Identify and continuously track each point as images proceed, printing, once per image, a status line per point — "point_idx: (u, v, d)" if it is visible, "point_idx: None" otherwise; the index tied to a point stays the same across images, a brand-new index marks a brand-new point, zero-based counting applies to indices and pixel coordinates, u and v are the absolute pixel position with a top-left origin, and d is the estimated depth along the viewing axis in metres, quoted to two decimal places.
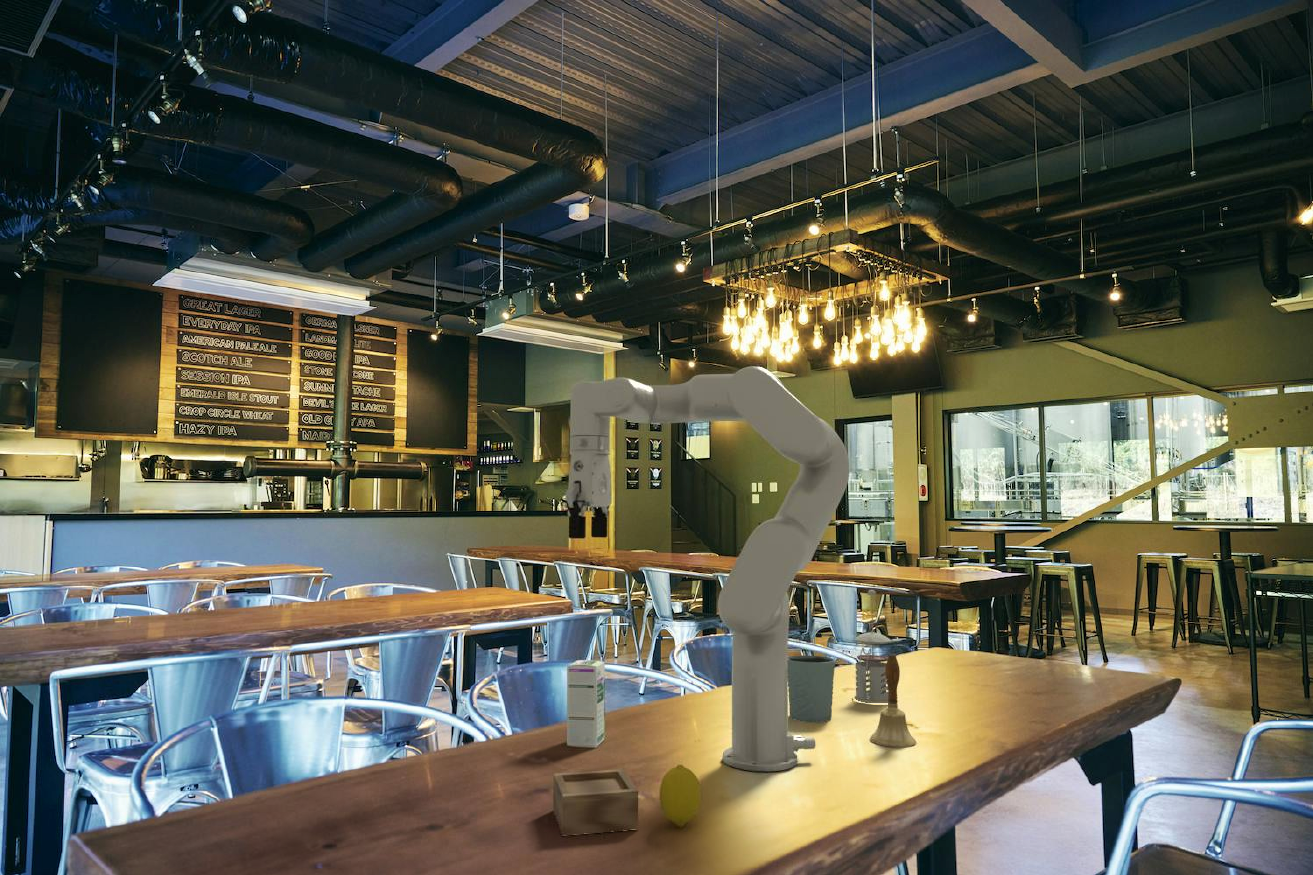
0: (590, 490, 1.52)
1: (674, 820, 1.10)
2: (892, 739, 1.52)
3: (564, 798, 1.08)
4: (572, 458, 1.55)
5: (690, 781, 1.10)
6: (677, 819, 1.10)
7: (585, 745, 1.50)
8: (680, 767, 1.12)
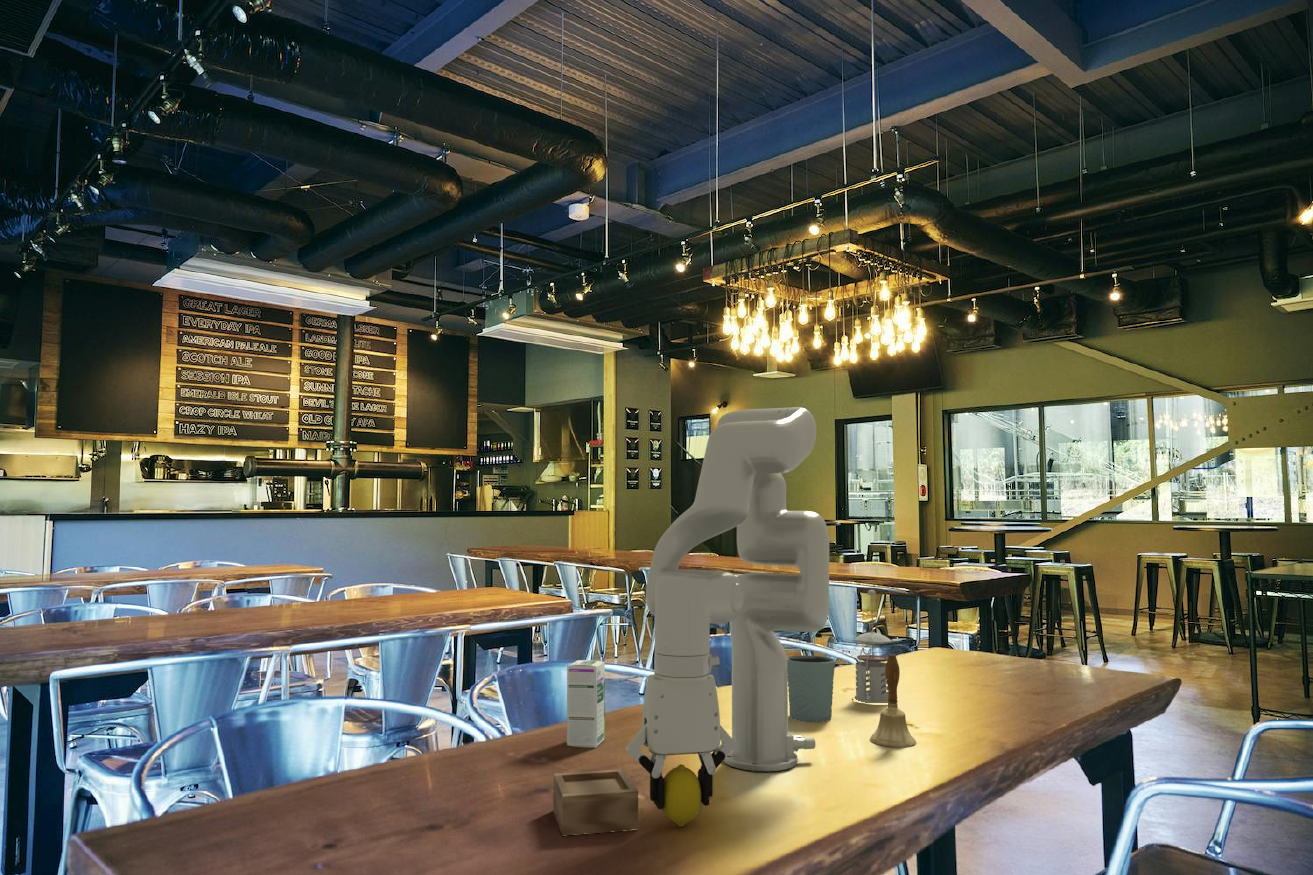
0: None
1: (675, 820, 1.10)
2: (892, 739, 1.52)
3: (564, 798, 1.08)
4: (715, 685, 1.13)
5: (691, 781, 1.10)
6: (678, 819, 1.10)
7: (585, 745, 1.50)
8: (681, 767, 1.12)
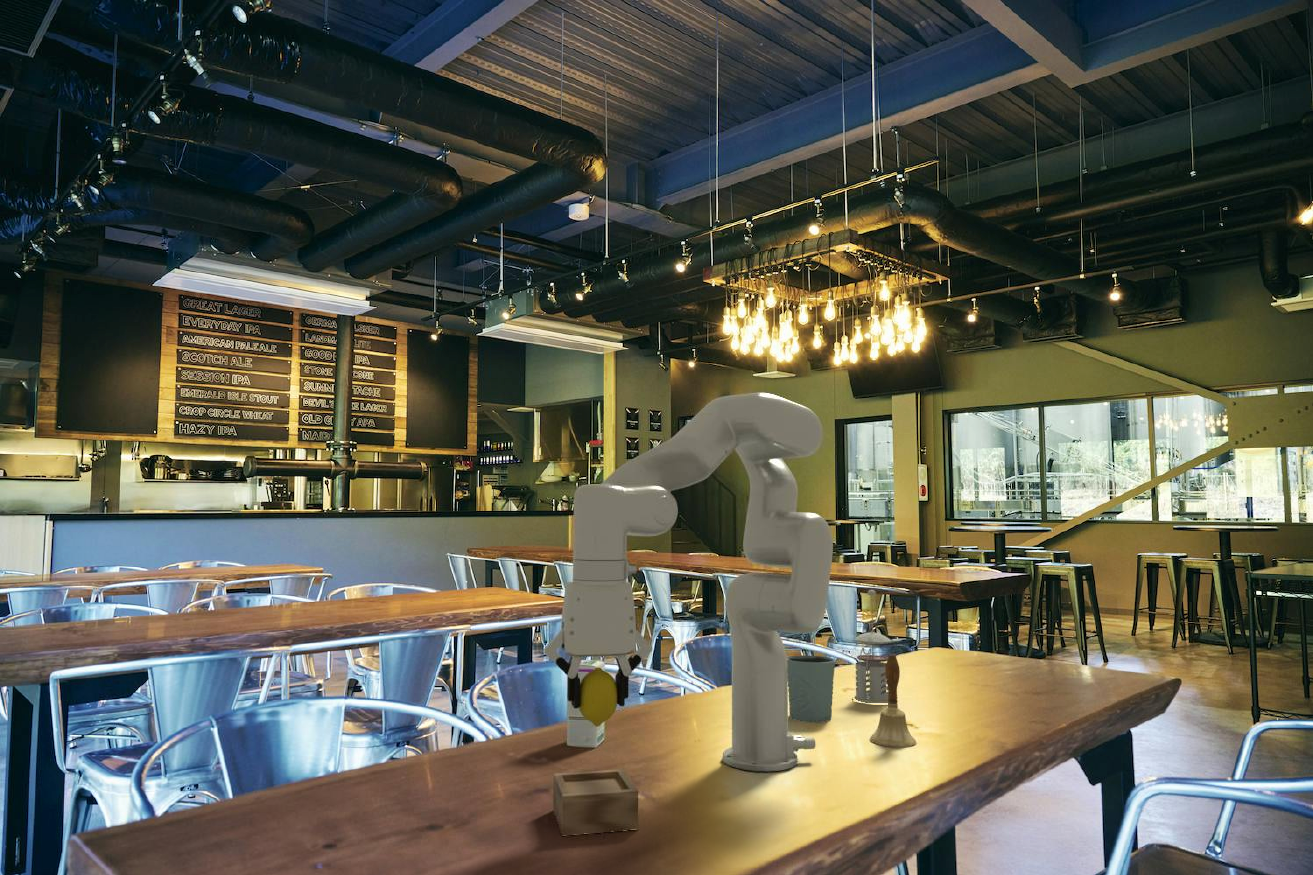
0: None
1: (591, 719, 1.13)
2: (892, 739, 1.52)
3: (564, 798, 1.08)
4: (631, 590, 1.16)
5: (606, 682, 1.14)
6: (594, 718, 1.13)
7: (585, 745, 1.50)
8: (598, 669, 1.15)
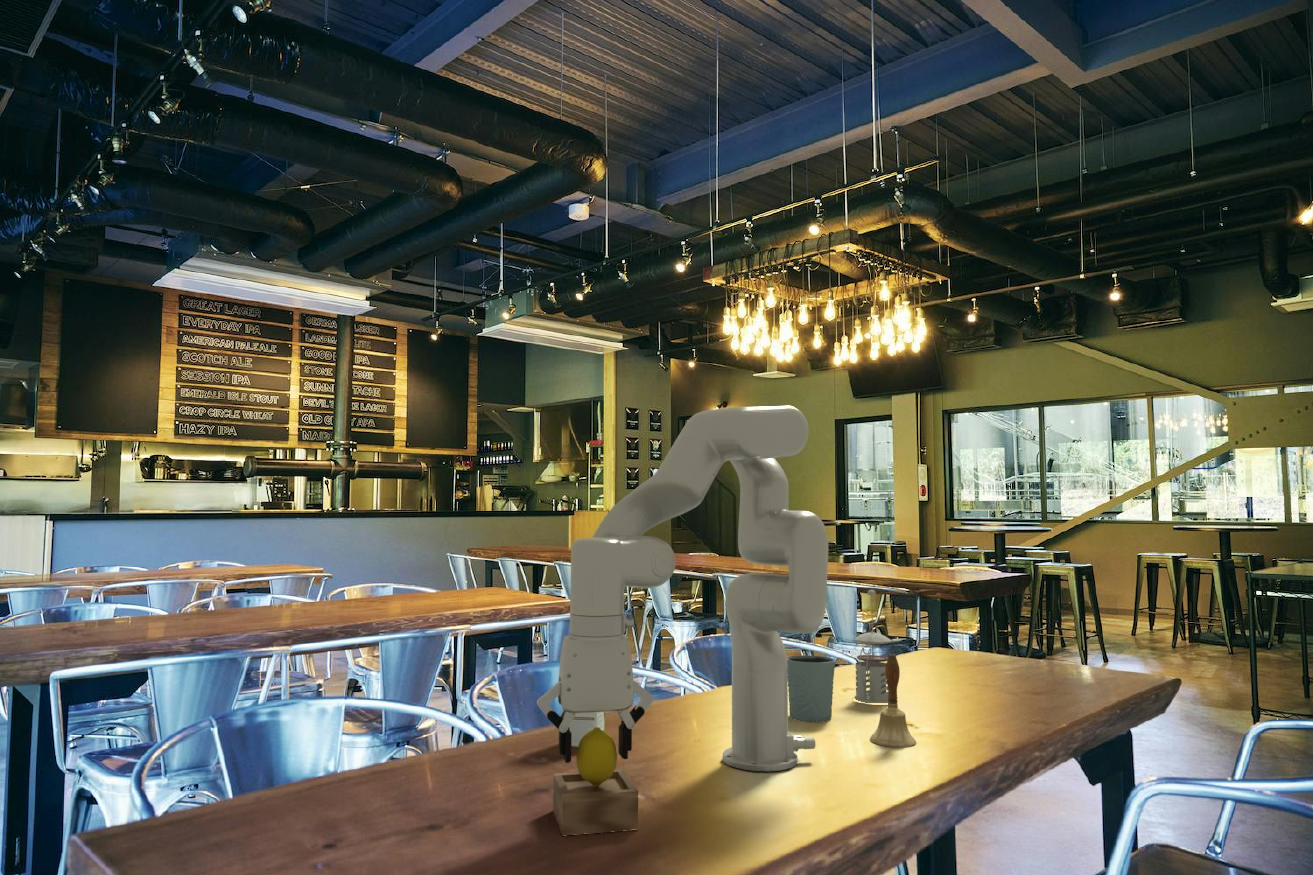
0: None
1: (590, 781, 1.13)
2: (892, 739, 1.52)
3: (564, 798, 1.08)
4: (629, 645, 1.16)
5: (605, 742, 1.13)
6: (593, 780, 1.13)
7: None
8: (597, 729, 1.15)
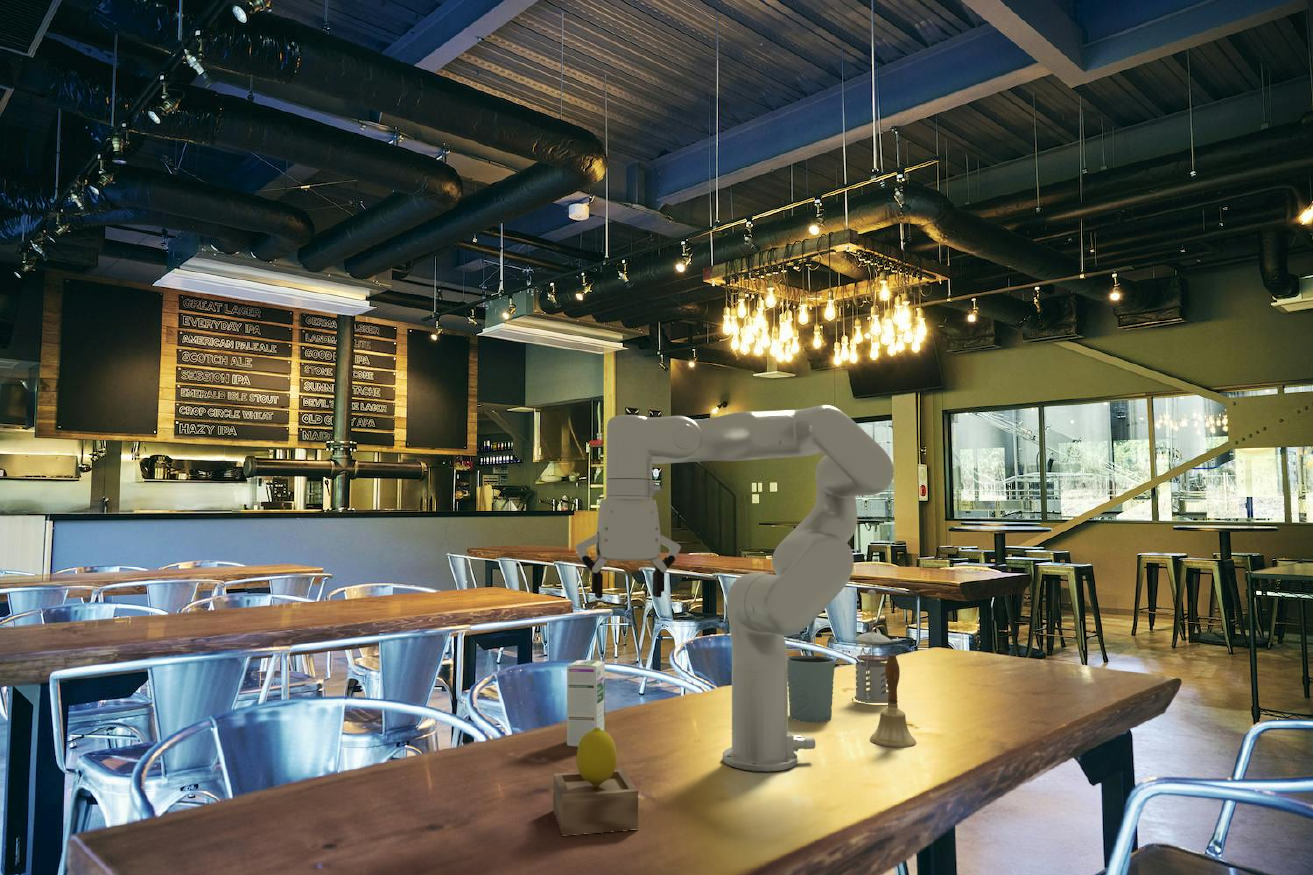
0: None
1: (590, 781, 1.13)
2: (892, 739, 1.52)
3: (564, 798, 1.08)
4: (656, 506, 1.36)
5: (605, 742, 1.13)
6: (593, 780, 1.13)
7: None
8: (597, 729, 1.15)
